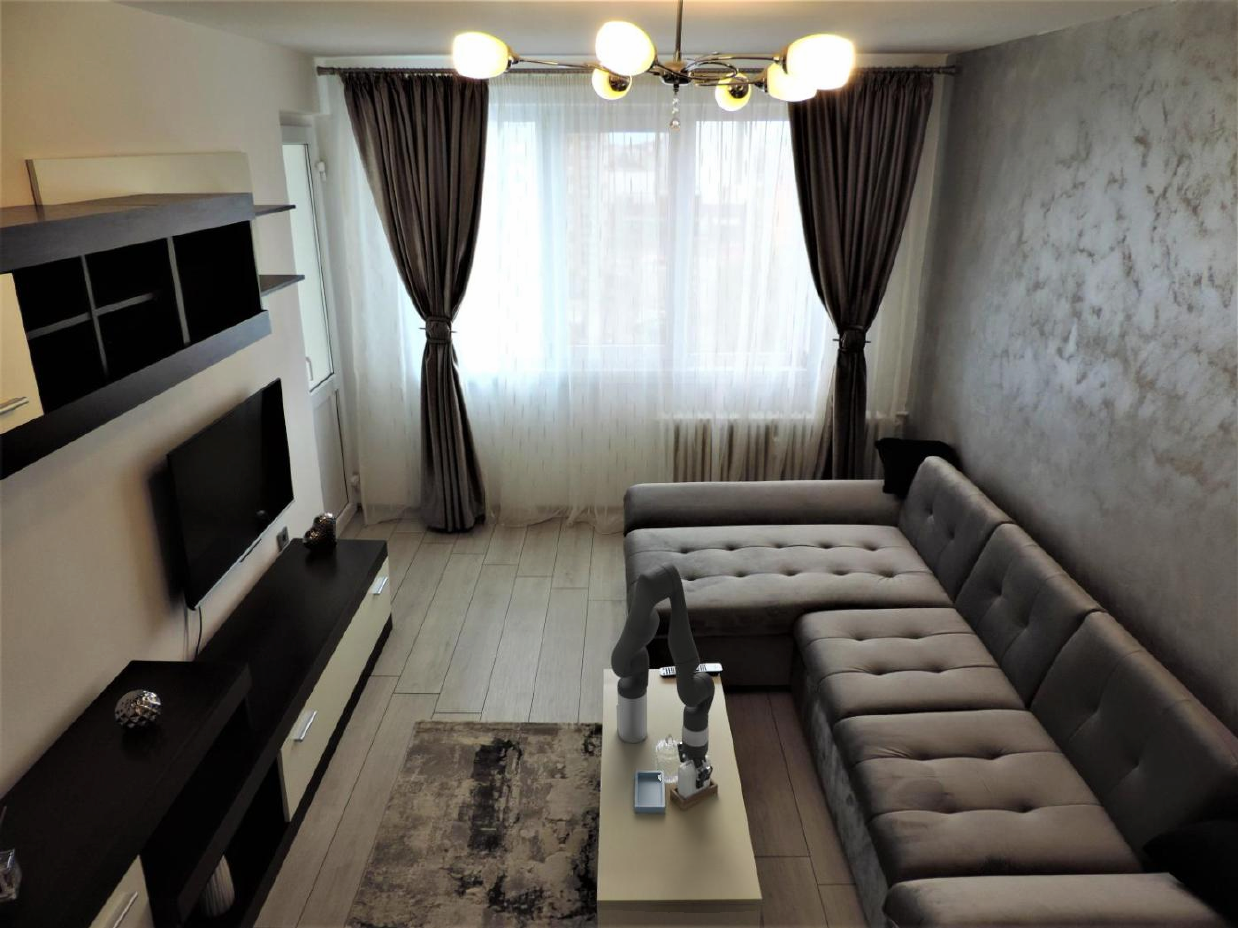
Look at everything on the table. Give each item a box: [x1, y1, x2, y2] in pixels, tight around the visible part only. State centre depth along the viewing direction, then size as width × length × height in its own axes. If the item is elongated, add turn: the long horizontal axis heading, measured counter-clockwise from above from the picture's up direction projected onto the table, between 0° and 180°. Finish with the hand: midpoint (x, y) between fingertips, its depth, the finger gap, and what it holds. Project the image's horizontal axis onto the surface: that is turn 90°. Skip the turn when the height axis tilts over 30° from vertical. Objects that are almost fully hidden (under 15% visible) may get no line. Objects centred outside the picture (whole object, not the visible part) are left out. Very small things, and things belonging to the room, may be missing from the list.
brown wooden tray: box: [669, 777, 719, 812], centre depth 253 cm, size 7×12×3 cm, turn 124°
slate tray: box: [634, 770, 666, 815], centre depth 253 cm, size 14×9×2 cm, turn 179°
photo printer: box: [677, 754, 712, 801], centre depth 251 cm, size 10×4×12 cm, turn 124°
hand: (694, 781), depth 252 cm, fingers closed on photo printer, 4 cm apart
